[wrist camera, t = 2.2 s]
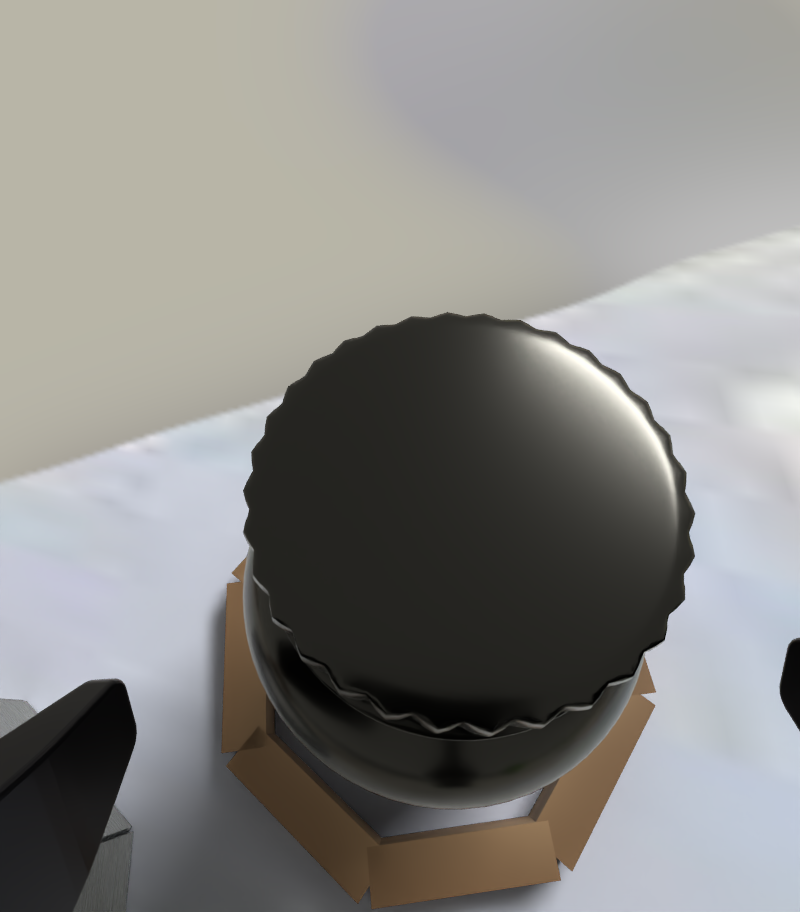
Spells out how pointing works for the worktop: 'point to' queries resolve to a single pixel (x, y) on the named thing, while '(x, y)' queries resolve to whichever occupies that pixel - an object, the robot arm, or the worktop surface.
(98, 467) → the worktop surface
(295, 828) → the walnut ring
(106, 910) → the hub socket
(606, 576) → the supplement bottle
